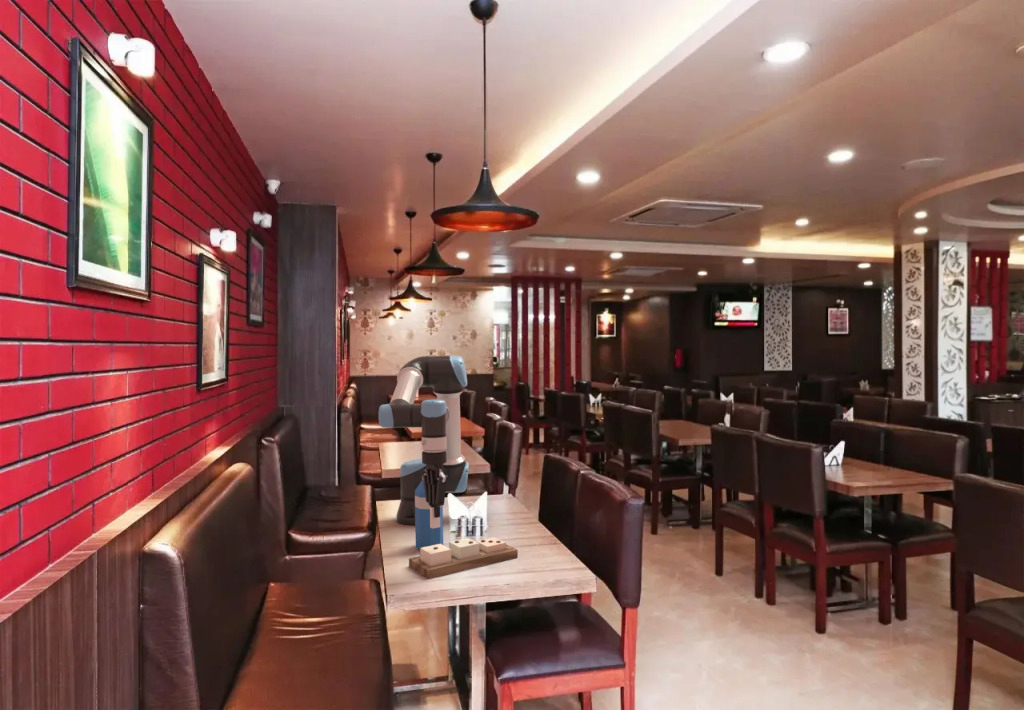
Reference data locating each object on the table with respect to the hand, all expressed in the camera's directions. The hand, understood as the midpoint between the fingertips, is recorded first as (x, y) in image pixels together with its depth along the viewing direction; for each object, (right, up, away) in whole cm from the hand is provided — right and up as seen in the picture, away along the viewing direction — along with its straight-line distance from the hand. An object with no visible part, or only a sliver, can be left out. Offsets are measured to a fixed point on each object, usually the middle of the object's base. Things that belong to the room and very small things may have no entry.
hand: (435, 527), depth 200 cm
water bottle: (-4, -13, +22) cm, 25 cm away
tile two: (+8, -11, +6) cm, 15 cm away
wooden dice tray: (+8, -13, +6) cm, 16 cm away
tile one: (0, -11, +1) cm, 11 cm away
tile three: (+17, -12, +12) cm, 24 cm away
